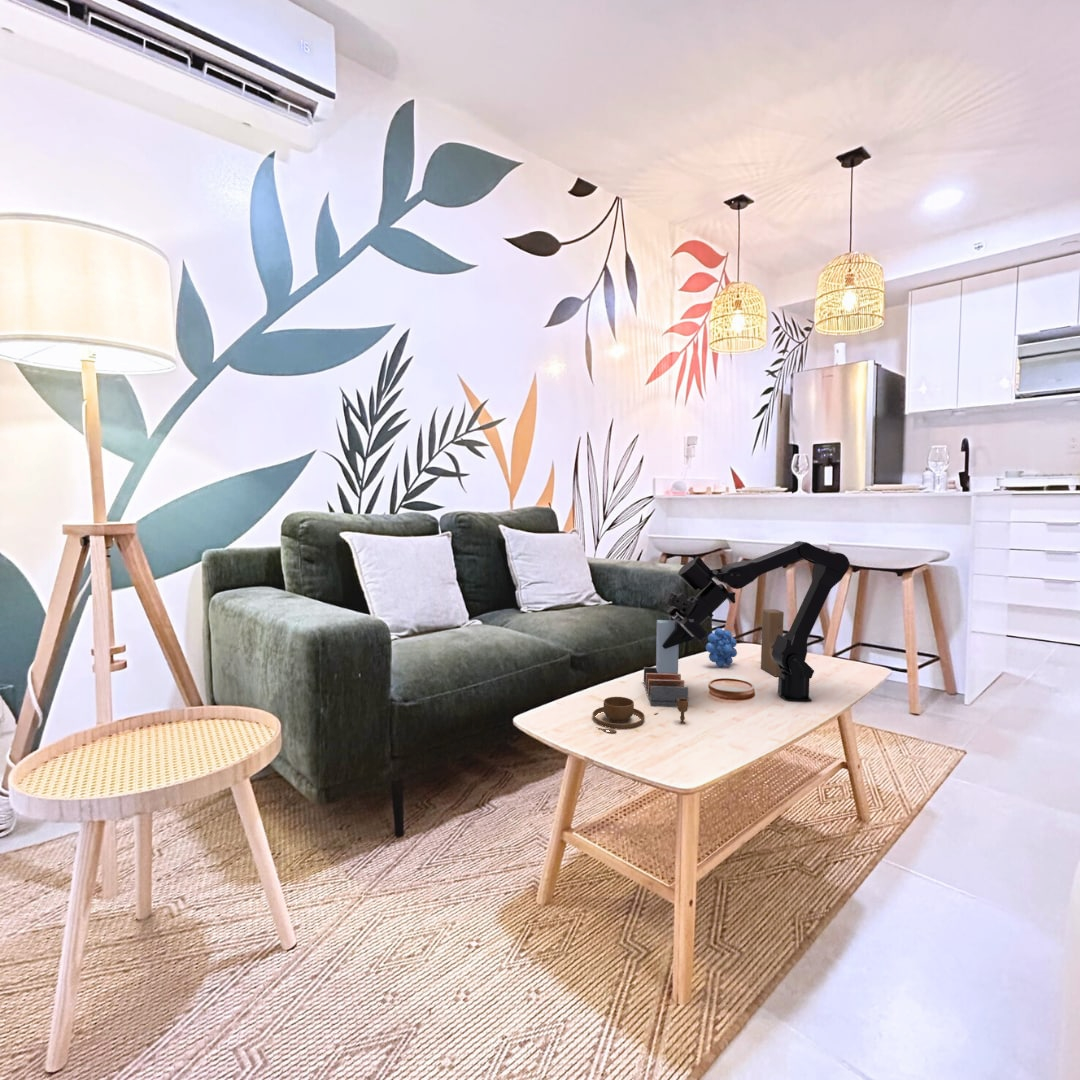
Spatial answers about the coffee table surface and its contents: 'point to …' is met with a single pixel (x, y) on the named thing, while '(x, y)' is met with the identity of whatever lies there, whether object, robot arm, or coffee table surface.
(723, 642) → the grapes
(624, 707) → the place setting
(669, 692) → the rack
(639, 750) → the coffee table surface
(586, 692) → the coffee table surface
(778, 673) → the wooden block
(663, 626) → the blue-gray rectangular block
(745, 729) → the coffee table surface
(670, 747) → the coffee table surface
